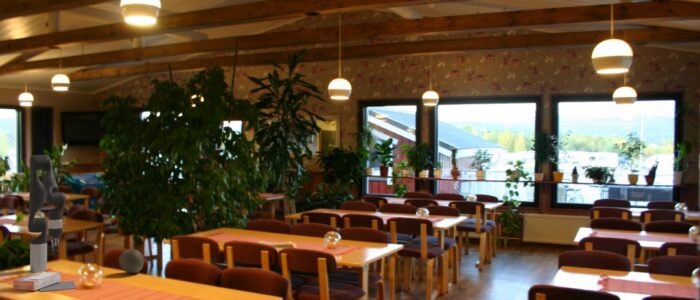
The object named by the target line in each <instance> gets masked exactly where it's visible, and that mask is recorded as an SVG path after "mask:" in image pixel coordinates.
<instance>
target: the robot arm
mask: <svg viewBox="0 0 700 300" xmlns="http://www.w3.org/2000/svg"><path fill="white" fill-rule="evenodd" d="M29 157H30V158H29V160H28V161H29V164H28V165H29V199H28V203H29V207H28V211H29V212H28V219H27V230H28V231H27V232H29V233H30V234H31V233H32V234H37V233H39V235H38V236H35V237H33V238H31V239H30V242H29V243H30V245H29V247H30V250H29V251H30V255H29V257H30V259H29V261H30V262H29V263H30V264H29V271H30V272H31V273H37V272H40V271H47V269H48V236H49V237H52V238H51V247H52V257H53V258H57V257H58V251H59V244H60V238H59V236H62V235H63V234H64V233H63V230H64V229H63V228H64V227H63V226H64V224H63V222H64V221H63V212H64V206H65V204H66V199H67V196H66V193H64V192H61V191H60V192H59V186H58V183H57V181H56V178H55V173H54V168H53V164H52V159H51V157H50V156H49V155H48V154H36V155H30V156H29ZM45 170H46V173H45V174H44V177H43V179H42V181H41V179H40V178H39V177H38V173H37V171H45ZM44 203H46V204H47V205H48V206H55V205H57V206H56V207H54V208H52V209H49V211H48V218H47V217H36V214H37V213H38V211H39V210H40V209H41V208H42V206H43V205H44Z"/></svg>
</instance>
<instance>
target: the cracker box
mask: <svg viewBox="0 0 700 300" xmlns="http://www.w3.org/2000/svg"><path fill="white" fill-rule="evenodd" d="M57 282H62V271H47V270H46V271H40V272H33V273H31V274H28V275H25V276H23V277H19V278H15V279H13V280H12V283H13V284H12V285H13V287H12V288H13V290H14V291H28V292H29V291H32V292H33V291H38V290H40V289H41V288H43V287H46V286H49V285H52V284H55V283H57Z"/></svg>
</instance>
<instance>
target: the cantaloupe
mask: <svg viewBox="0 0 700 300" xmlns="http://www.w3.org/2000/svg"><path fill="white" fill-rule="evenodd" d="M118 263H119V266H120V267H121V269H122V270H123V271H124V272H125V273H128V274H136V273H139V272H140V271H141V270H142V269H143V267H144V255H143V254H142V252H140V251H139V250H138V249H133V248H132V249H128V250H127V249H126V250H124V251H122V253H121V255H119V258H118Z"/></svg>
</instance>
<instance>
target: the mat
mask: <svg viewBox="0 0 700 300" xmlns="http://www.w3.org/2000/svg"><path fill="white" fill-rule="evenodd" d="M76 289H77V287H76V282H75V280H67V281H60V282H57V283H55V284H52V285H49V286H46V287H43V288H41V289H39V293H44V292H45V293H46V292H55V291H56V292H57V291H66V290H76Z"/></svg>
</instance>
